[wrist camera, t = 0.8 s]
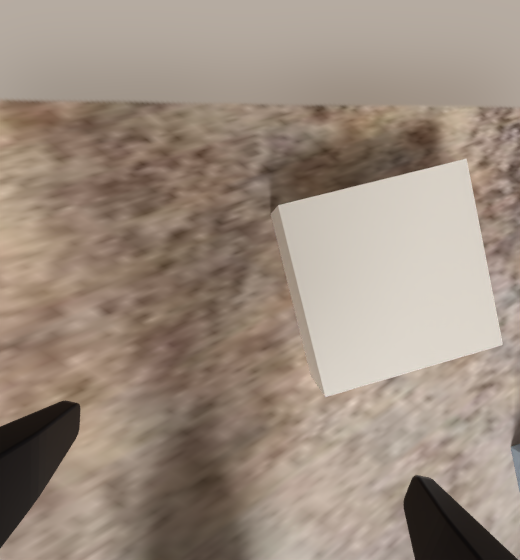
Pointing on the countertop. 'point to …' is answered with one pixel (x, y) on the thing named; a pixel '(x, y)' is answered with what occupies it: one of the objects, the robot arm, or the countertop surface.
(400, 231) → the base block
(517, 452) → the blue pillar
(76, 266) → the countertop surface
